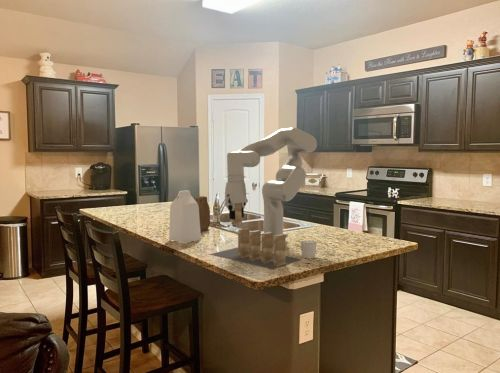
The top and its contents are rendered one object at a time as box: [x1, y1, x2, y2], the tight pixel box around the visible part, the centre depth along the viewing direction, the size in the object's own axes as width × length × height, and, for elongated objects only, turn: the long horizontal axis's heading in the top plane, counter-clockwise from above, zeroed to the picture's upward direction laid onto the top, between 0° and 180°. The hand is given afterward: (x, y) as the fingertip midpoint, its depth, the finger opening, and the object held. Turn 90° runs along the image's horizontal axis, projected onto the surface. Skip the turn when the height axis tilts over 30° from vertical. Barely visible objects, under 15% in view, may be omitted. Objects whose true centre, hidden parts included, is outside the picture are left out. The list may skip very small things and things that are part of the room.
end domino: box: [230, 203, 243, 226], centre depth 189 cm, size 2×5×12 cm, turn 138°
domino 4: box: [273, 233, 286, 267], centre depth 164 cm, size 2×5×12 cm, turn 138°
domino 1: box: [237, 227, 250, 258], centre depth 177 cm, size 2×5×12 cm, turn 138°
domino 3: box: [261, 232, 274, 263], centre depth 168 cm, size 2×5×12 cm, turn 138°
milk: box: [168, 190, 202, 244], centre depth 214 cm, size 12×12×26 cm
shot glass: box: [300, 240, 317, 259], centre depth 178 cm, size 7×7×7 cm
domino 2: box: [249, 229, 262, 261], centre depth 173 cm, size 2×5×12 cm, turn 138°
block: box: [193, 195, 211, 232], centre depth 243 cm, size 11×8×20 cm
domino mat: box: [209, 246, 303, 270], centre depth 177 cm, size 20×36×1 cm, turn 48°
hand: (236, 217), depth 189 cm, fingers closed on end domino, 4 cm apart
